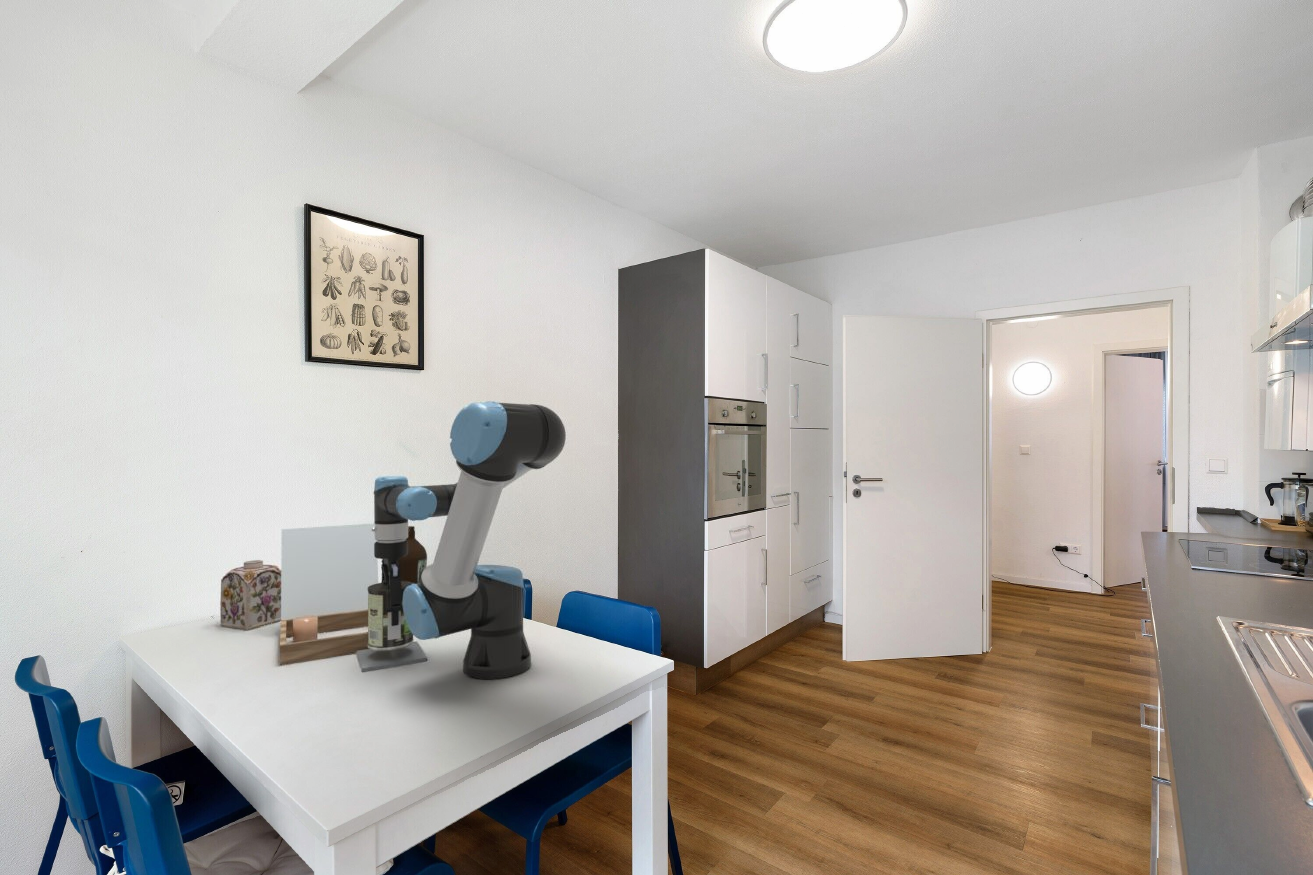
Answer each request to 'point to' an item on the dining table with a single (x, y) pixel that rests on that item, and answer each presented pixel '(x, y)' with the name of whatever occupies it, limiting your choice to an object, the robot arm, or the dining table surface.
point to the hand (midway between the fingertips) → (391, 632)
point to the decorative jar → (251, 596)
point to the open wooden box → (325, 645)
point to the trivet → (390, 657)
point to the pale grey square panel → (327, 570)
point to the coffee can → (385, 620)
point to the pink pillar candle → (305, 628)
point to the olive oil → (413, 559)
